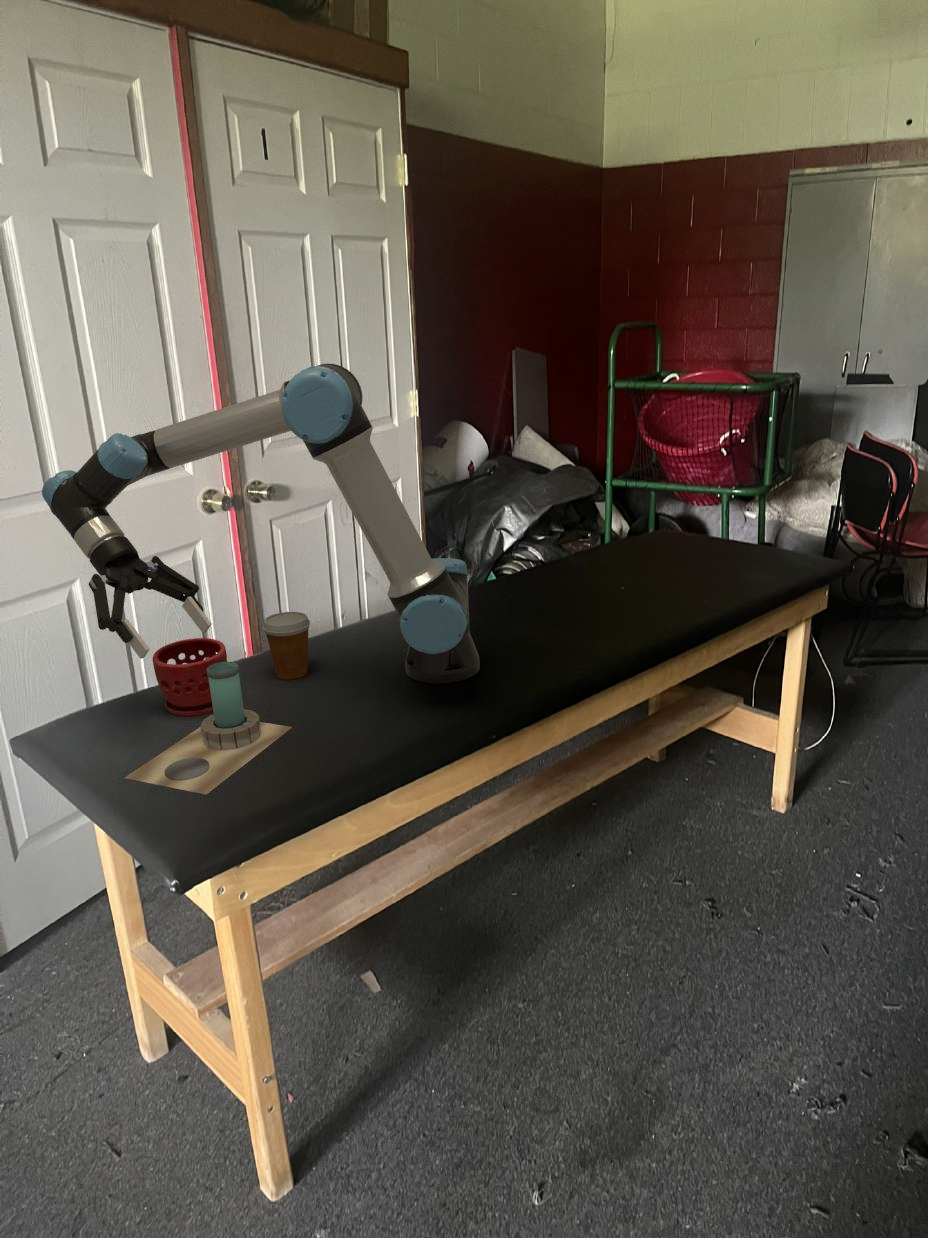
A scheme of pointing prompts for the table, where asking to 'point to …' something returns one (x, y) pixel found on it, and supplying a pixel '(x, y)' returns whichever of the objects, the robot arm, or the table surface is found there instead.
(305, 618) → the disposable coffee cup
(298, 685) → the table surface
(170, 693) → the plant pot
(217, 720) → the teal cylindrical container
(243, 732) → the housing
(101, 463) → the robot arm
